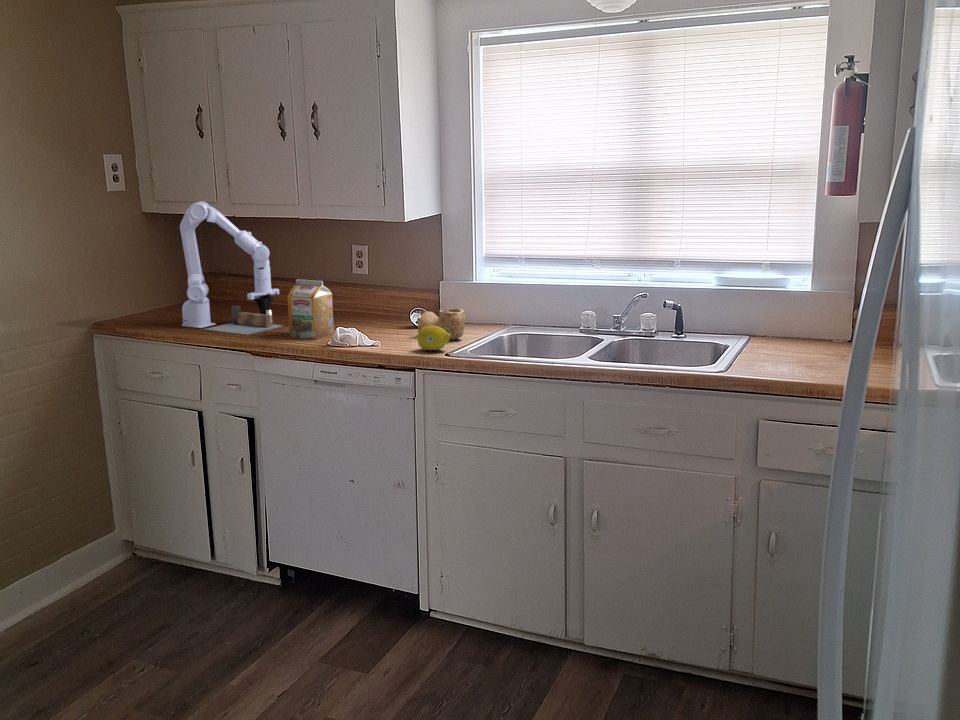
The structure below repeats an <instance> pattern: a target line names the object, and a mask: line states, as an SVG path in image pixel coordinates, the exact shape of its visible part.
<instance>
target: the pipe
mask: <svg viewBox="0 0 960 720" xmlns="http://www.w3.org/2000/svg"><path fill="white" fill-rule="evenodd" d="M438 313H439V316H438V315H436V313H434V312H433V311H430V310H429V311H425V312H423V313H422V314H421V316H420V318H419V319H418V323H417V332H418V333H419V331H420V330H421V329H422V328H423V327H426V326H438V327H440V328H442V329H444V330H445V331H446V332H448V333H449V334H450V340H449V341H455V340H457V339H459V338H462V337H463V336H464V329H465V325H466V315H465V309H462V308H452V307H451V308H448V309H446V310H443V309H439V312H438Z"/></svg>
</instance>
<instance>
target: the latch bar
mask: <svg viewBox="0 0 960 720" xmlns="http://www.w3.org/2000/svg"><path fill="white" fill-rule="evenodd" d="M230 308H231V320H232V322H231V323H233V324H245V325H253V326H262V327H269V326H270V315H265V314H261V313H257V312H256V313H255V312H245V311H242V309H241V306H240V305H232V306H231V307H230Z"/></svg>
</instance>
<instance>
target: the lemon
mask: <svg viewBox="0 0 960 720" xmlns="http://www.w3.org/2000/svg"><path fill="white" fill-rule="evenodd" d="M416 340H417V343H418V346H419V347H420V348H421V349H422V350H424V351H426V350H436V351H438V350H440V349H443V348H444V347H445V346H446V344H448V343H449V342H450V341H451V340H450V334H449V333H448V332H446V331H445V330H444V329H442V328H440V327H438V326H426V327H423V328H422V329H421V330H420V331H419V332H418V334H417V335H416Z"/></svg>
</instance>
